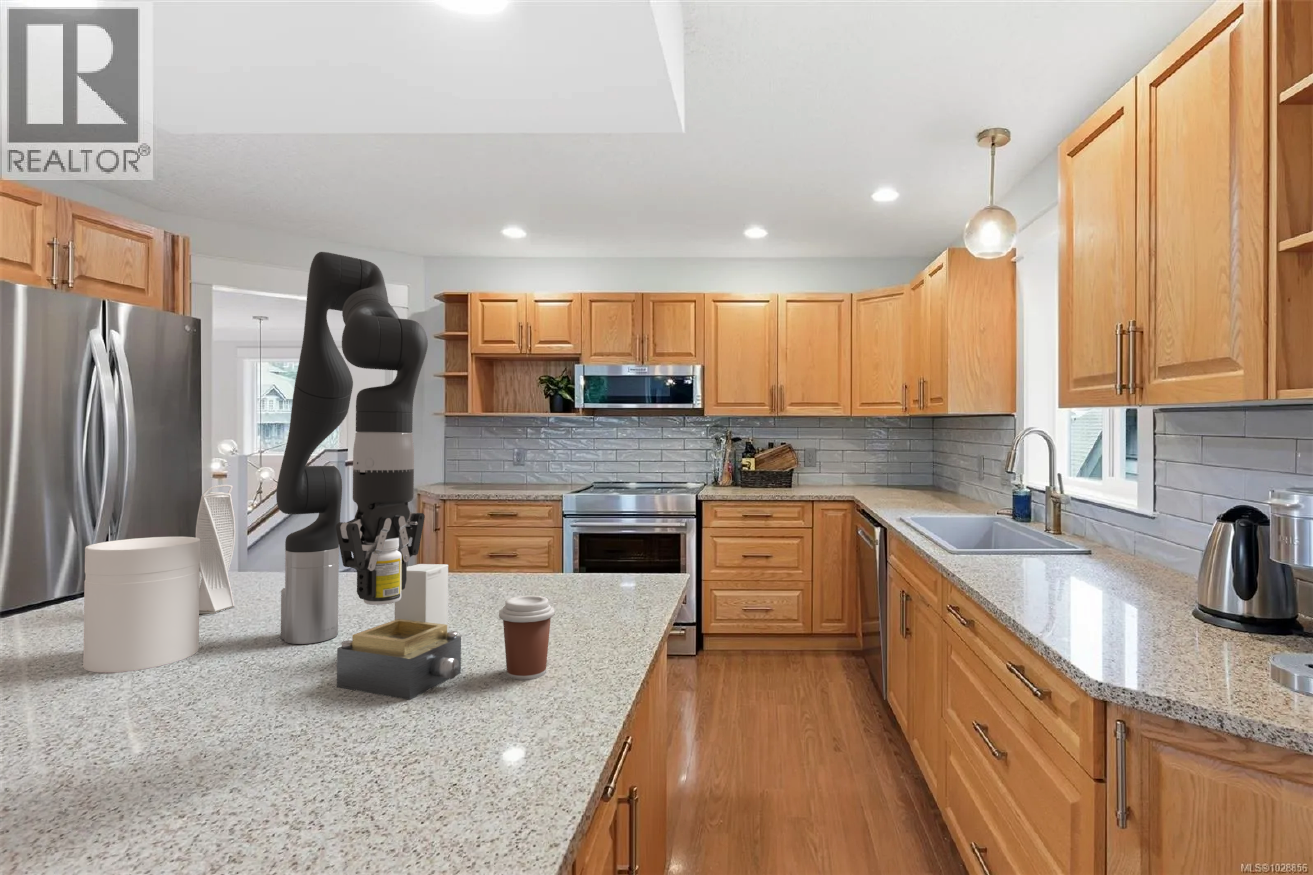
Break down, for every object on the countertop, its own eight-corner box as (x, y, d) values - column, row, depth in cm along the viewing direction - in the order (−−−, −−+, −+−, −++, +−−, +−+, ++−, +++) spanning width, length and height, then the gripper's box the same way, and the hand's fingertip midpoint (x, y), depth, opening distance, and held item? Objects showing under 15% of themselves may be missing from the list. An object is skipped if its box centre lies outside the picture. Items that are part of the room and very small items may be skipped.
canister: (218, 650, 119) (220, 540, 119) (115, 678, 104) (117, 553, 104) (166, 638, 126) (167, 534, 126) (62, 663, 111) (64, 546, 111)
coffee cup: (506, 686, 102) (506, 609, 102) (492, 668, 110) (492, 597, 110) (561, 677, 106) (562, 603, 106) (544, 660, 114) (545, 591, 114)
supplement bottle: (370, 596, 89) (371, 535, 89) (406, 596, 90) (406, 535, 90) (357, 606, 85) (358, 541, 85) (395, 605, 85) (395, 540, 85)
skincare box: (424, 662, 113) (425, 572, 113) (390, 659, 114) (391, 570, 114) (449, 647, 121) (450, 563, 121) (417, 645, 123) (418, 561, 123)
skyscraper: (212, 604, 152) (213, 484, 152) (243, 606, 151) (245, 484, 151) (181, 613, 143) (182, 486, 144) (214, 615, 142) (215, 486, 143)
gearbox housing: (336, 687, 101) (337, 635, 101) (392, 662, 112) (393, 616, 113) (426, 702, 95) (427, 647, 95) (476, 675, 107) (476, 626, 107)
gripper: (399, 464, 95) (398, 581, 95) (318, 467, 82) (316, 604, 82) (442, 465, 93) (440, 585, 93) (365, 469, 79) (363, 610, 79)
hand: (382, 593), depth 87 cm, fingers closed on supplement bottle, 4 cm apart
